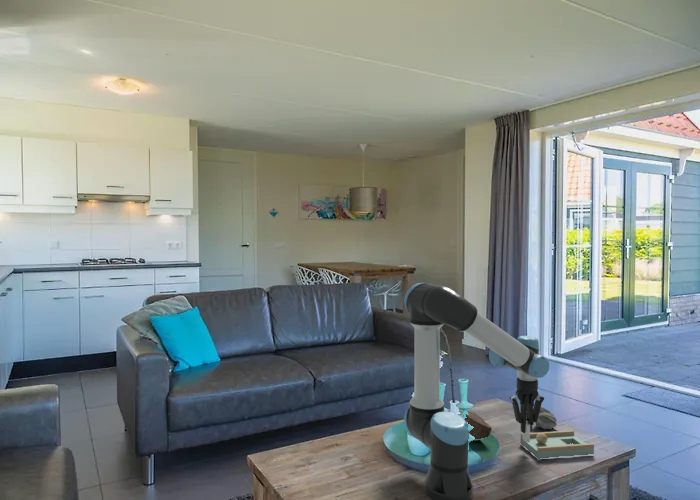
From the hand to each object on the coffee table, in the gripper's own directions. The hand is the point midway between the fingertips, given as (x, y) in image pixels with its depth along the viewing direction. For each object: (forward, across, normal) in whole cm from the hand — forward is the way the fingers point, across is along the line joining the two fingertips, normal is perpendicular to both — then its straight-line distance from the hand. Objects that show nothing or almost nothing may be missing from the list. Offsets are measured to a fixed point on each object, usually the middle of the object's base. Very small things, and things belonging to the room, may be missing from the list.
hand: (526, 440), depth 185 cm
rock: (+5, -15, +14) cm, 21 cm away
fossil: (+5, +19, +21) cm, 29 cm away
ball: (0, +6, 0) cm, 6 cm away
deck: (+5, +12, 0) cm, 13 cm away
